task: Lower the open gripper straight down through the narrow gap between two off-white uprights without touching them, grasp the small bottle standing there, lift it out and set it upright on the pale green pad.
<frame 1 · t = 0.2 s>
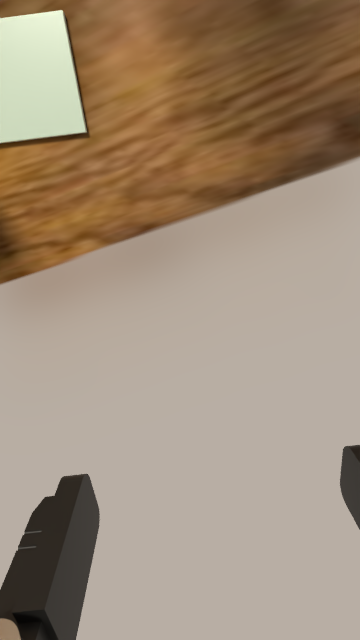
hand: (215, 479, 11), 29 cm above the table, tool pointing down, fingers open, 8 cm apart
pad: (27, 82, 30), on the table
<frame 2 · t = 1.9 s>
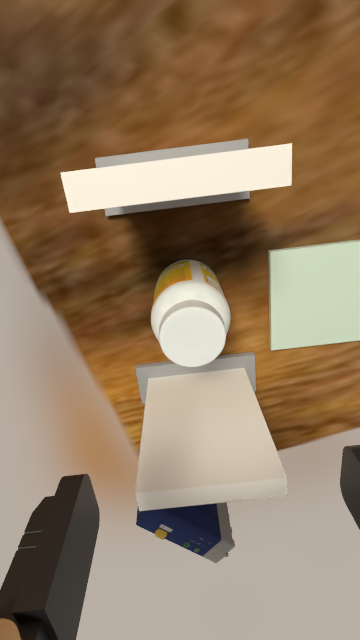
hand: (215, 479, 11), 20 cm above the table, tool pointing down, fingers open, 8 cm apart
pad: (320, 295, 29), on the table
supplement bottle: (186, 288, 29), on the table
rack: (186, 289, 29), on the table
cassette player: (182, 422, 34), on the table
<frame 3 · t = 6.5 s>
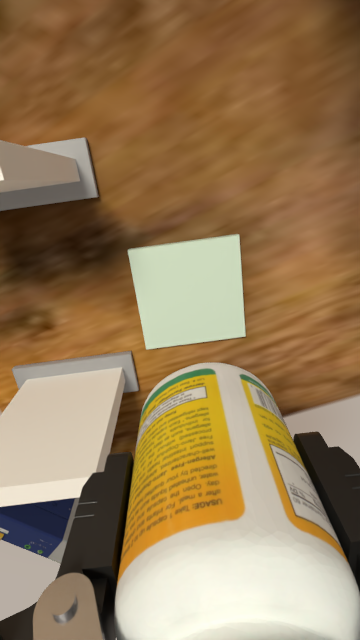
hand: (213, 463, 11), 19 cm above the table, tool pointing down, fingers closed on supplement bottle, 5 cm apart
pad: (189, 293, 29), on the table
supplement bottle: (206, 412, 14), point 16 cm above the table, touching gripper
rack: (52, 289, 29), on the table
cassette player: (72, 423, 34), on the table
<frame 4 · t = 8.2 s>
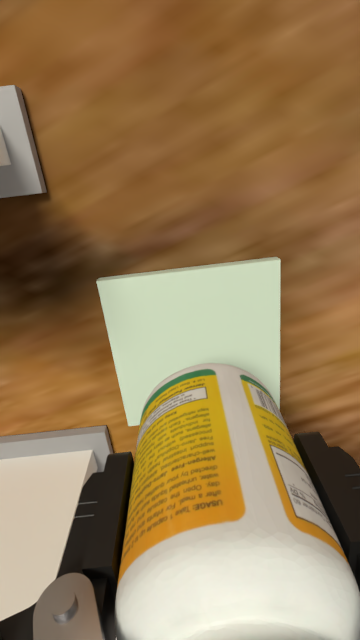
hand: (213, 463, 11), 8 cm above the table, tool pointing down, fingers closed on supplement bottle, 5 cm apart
pad: (195, 346, 19), on the table
supplement bottle: (206, 412, 14), point 5 cm above the table, touching gripper
when the fingers open (4 cm above the table, at t = 9.3 s): supplement bottle drops 1 cm, resting on pad.
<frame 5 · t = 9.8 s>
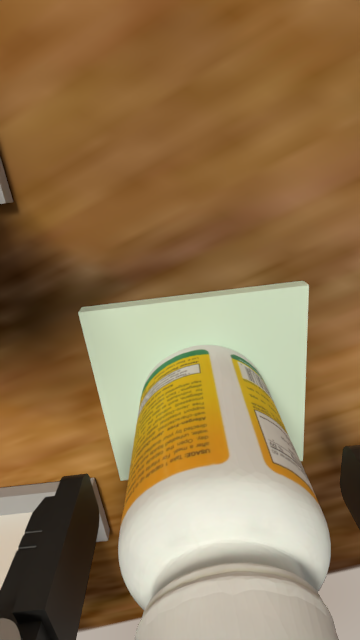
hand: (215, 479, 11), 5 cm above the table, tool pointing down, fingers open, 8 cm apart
pad: (201, 387, 15), on the table
supplement bottle: (201, 392, 15), resting on pad
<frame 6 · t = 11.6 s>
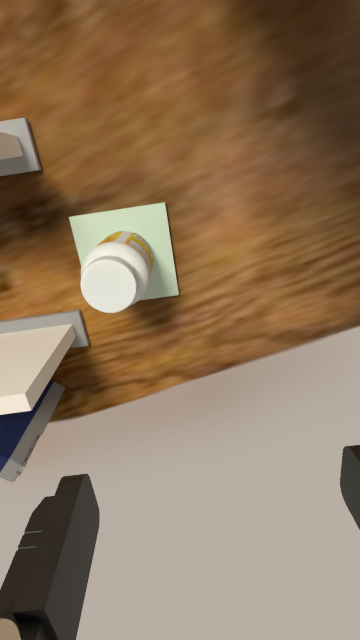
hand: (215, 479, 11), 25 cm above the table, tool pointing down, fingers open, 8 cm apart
pad: (127, 256, 33), on the table
supplement bottle: (126, 257, 33), resting on pad
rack: (7, 253, 33), on the table
cassette player: (33, 377, 39), on the table
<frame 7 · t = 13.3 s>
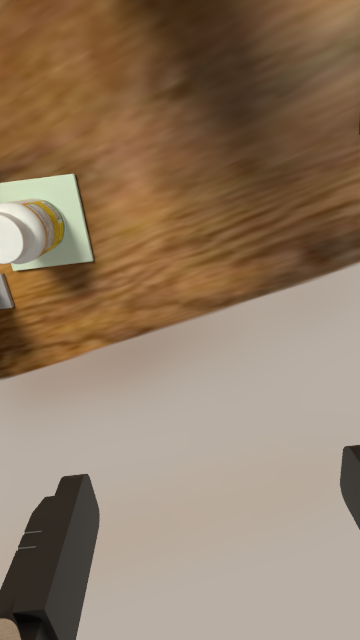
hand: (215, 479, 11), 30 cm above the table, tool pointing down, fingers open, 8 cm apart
pad: (43, 224, 36), on the table
supplement bottle: (42, 224, 36), resting on pad
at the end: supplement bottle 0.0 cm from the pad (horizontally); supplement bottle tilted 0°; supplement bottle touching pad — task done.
